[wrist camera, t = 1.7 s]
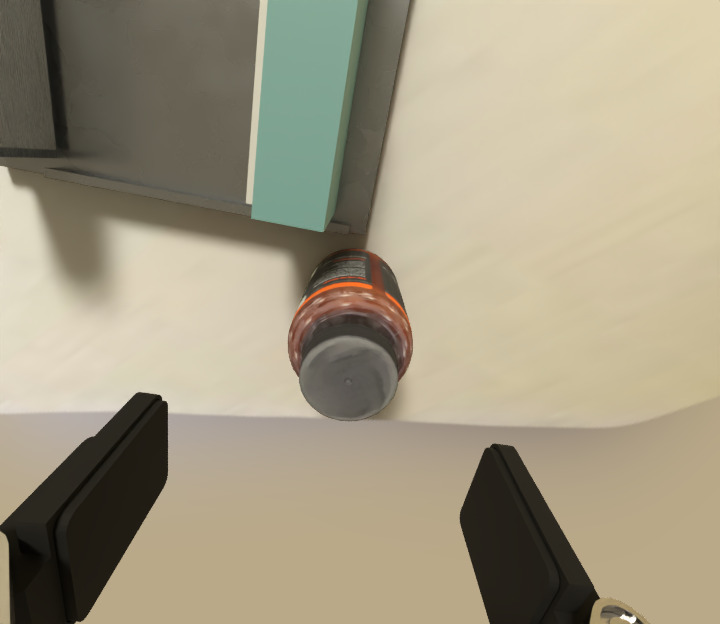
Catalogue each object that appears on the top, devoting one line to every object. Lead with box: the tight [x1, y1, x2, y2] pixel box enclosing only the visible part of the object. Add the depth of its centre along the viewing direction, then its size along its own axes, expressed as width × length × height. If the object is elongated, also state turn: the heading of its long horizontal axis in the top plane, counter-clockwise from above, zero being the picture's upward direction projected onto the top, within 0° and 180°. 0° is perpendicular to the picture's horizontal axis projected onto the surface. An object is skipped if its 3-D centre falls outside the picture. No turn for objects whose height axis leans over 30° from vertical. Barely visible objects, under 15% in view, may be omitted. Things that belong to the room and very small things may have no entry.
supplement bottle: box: [288, 249, 413, 421], centre depth 20 cm, size 6×6×11 cm
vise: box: [0, 0, 410, 235], centre depth 16 cm, size 23×14×8 cm, turn 79°
